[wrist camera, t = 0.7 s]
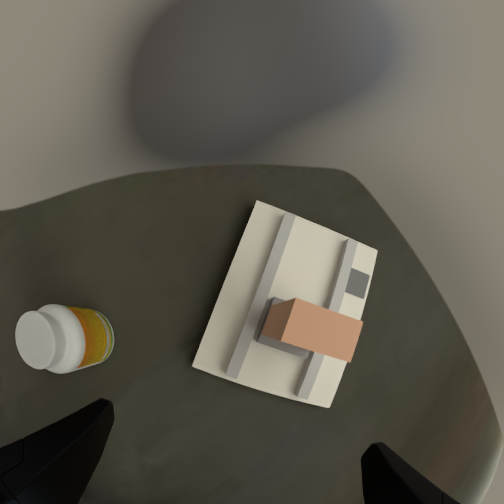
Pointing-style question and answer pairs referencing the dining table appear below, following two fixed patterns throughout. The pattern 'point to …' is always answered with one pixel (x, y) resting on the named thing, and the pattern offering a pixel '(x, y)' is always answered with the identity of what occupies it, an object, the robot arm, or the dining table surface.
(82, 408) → the robot arm
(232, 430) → the dining table surface
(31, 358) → the supplement bottle
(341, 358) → the slide tab
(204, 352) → the switch board
